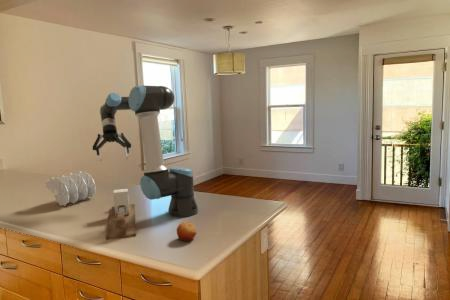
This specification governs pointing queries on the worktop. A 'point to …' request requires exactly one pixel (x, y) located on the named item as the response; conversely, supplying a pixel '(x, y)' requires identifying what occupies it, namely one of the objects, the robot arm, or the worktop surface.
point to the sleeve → (121, 200)
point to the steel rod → (121, 211)
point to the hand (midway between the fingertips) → (114, 158)
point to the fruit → (186, 231)
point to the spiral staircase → (72, 187)
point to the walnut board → (121, 224)
